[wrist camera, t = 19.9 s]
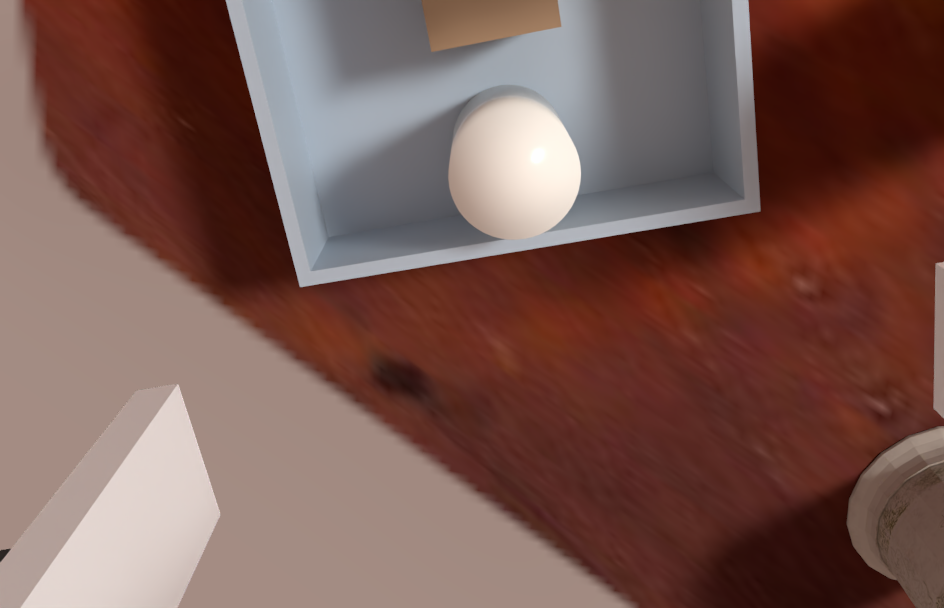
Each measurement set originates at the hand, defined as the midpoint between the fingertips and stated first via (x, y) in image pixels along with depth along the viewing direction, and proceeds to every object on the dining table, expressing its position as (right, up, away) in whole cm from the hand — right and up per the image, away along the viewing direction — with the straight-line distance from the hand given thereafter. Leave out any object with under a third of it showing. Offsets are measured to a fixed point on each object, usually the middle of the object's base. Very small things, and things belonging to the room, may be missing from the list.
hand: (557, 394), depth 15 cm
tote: (-1, +13, +24) cm, 27 cm away
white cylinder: (0, +9, +25) cm, 26 cm away
